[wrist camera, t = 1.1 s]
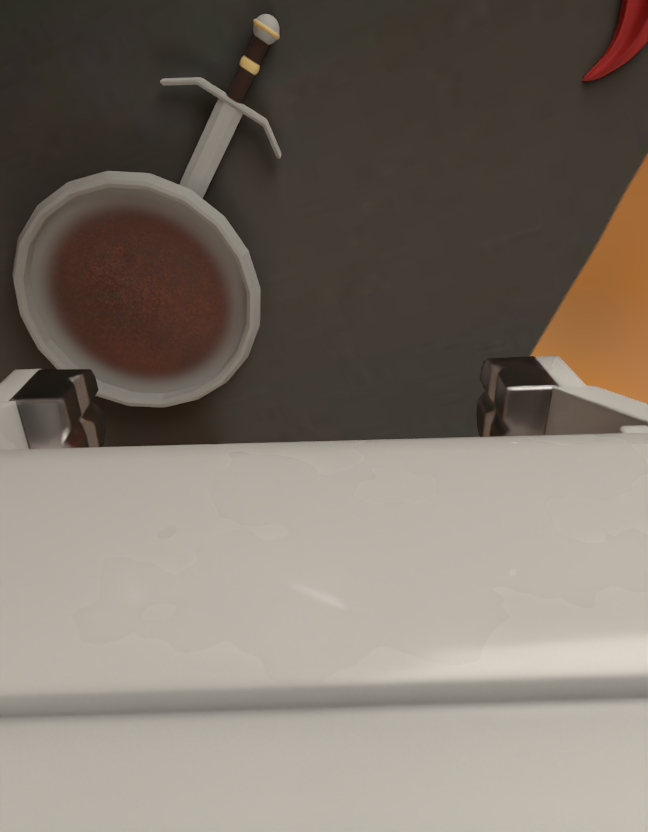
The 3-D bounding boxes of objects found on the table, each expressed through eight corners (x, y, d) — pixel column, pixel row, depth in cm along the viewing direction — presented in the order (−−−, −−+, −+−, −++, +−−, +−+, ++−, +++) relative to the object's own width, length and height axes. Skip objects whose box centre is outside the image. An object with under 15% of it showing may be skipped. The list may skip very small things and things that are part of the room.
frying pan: (397, 100, 37) (196, 449, 48) (391, 99, 39) (201, 431, 50) (127, -86, 32) (-26, 347, 43) (140, -73, 35) (-8, 332, 46)
